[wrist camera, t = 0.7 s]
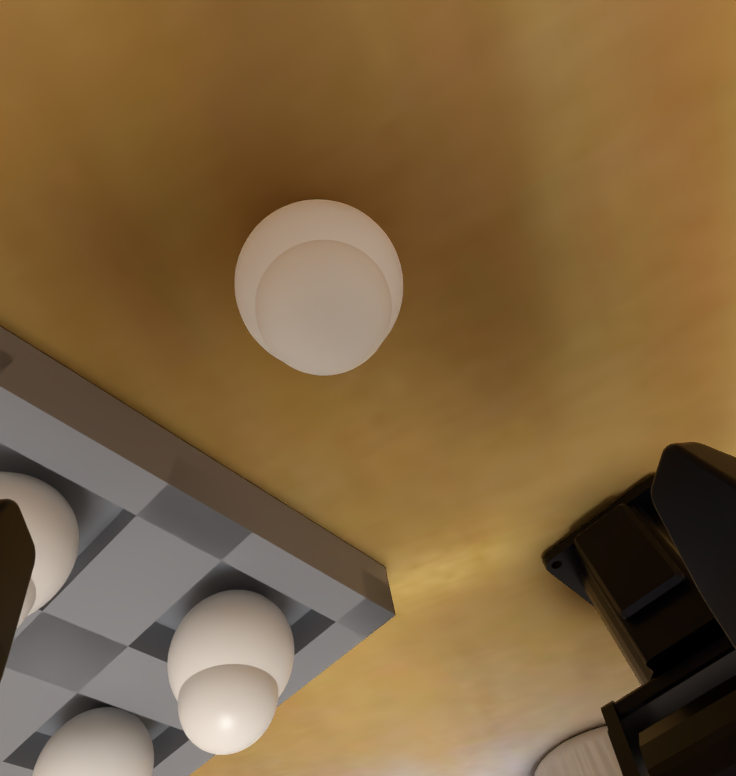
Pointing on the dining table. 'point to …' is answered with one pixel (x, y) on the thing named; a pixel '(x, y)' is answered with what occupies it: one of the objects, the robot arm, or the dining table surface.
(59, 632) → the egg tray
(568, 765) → the ramekin
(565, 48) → the dining table surface
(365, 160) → the dining table surface
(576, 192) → the dining table surface
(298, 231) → the cream game piece
